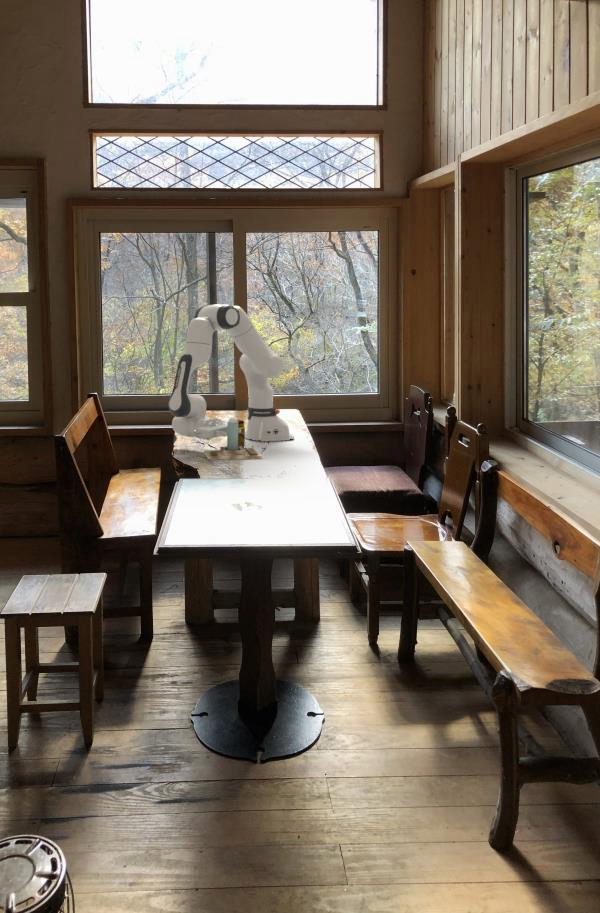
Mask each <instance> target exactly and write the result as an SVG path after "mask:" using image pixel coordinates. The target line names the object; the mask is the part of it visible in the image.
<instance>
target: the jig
mask: <svg viewBox="0 0 600 913" xmlns="http://www.w3.org/2000/svg"><path fill="white" fill-rule="evenodd" d="M219 448H220V449H217V450H216V449H211V450H205V449H204V450H203V454H205V455H206V456H205V455H204V456H205V457H207V458H208V459H225V460H252V459H251V458H262V459H263V455H262V454H261V453H260V452H259V451H258V450H257V449H255V448H253V447H252V448H251V447H250V448H249V447H245V448H246V449H243V448H242V447H238V450H227V446H220V447H219ZM207 458H206V459H207ZM208 459H207V460H208Z"/></svg>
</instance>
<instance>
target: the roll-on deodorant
mask: <svg viewBox="0 0 600 913" xmlns="http://www.w3.org/2000/svg"><path fill="white" fill-rule="evenodd" d="M237 420H238V418H236V417H230V418H229V419H228V421H226V422H227V433H228V436H226V440H227V441H226V443H227V445H226V447H227V450H238V421H237Z"/></svg>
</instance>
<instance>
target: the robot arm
mask: <svg viewBox="0 0 600 913" xmlns="http://www.w3.org/2000/svg"><path fill="white" fill-rule="evenodd" d="M224 330H227V331H228V333H229V335H230V337H231V339H232V340H233V342H234V344H235V346H236V348H237V349H238V351H240V352H241V353H242V354H241V356H240V358H239V361H238V362H239V363H238V364H239V367H240V369H241V371H242V372H243V374H244V376H245V380H246V384H247V390H248V406H247V409H246V412H247V415H246V418H247V424H246V428H245V440H250V439H252V441H258V440H261V441H260V442H264V441H265V442H279V441H281V440H282V441H291V440H290V439H293V440H294V439H295V436H294V435H293V434H292V433H290V428H289V425H288V424H287V423H286V422H285V421H284V420H283V419H282V418H281V417H279V416H278V415H279V414H280V409H278V408H276V407H275V406H274V390H273V388H272V387H271V384H270V382H269V379H274V378H278V377H280V376H281V375H282V374H283V372H284V369H285V362H284V360H283V359H282V357H281V356H279V355H278V354H276V352H274V351H273V350H272V348H270V346H269V345H268V344H267V343H266V342H265V341H264V339H263V338H262V337H261V335H260V334H259V332H258V330H257V329H256V327H255V325H254V324H253V322H252V320H251V318H250V317H249V314H247V313H246V311H245V310H244V309H243V308H242V307H241V306H239V305H231V304H228V303H224V304H223V303H215V304H209V305H208V304H207V305H203V306H200V307H199V308H198V309H196V311H195V314H194V316H193V319H191V321H190V322H189V325H188V328H187V332H186V336H185V337H186V339H185V345H184V346H185V347H184V351H183V353H182V356H180V358H179V361H178V364H177V367H176V373H175V378H174V382H173V388H172V391H171V394H170V396H169V398H168V403H167V406H168V410H169V412H170V414H171V415H172V416H173V419H172V421H171V427H172V429H173V431H174V432H175V433H176V434H178V435H179V436H184V437H187V438H197V439H200V440H206V441H208V440H212V439H214V438H218V437H219V438H220V437H222V438H223V437H225V438H227V436H228V433H227V422H228V421H226V420H225V421H224V420H222V419H220V418H209V417H206V412H207V409H208V408H207V407H208V406H207V401H206V399H205V397H204V396H202V395H199V394H192V393H191V394H190V393H189V387H190V382H191V377H192V374H193V372H194V371H195V369H196V368H199V367H201V366H203V365H205V364H207V362H209V360H210V359H211V355H212V352H213V351H212V350H213V349H212V348H213V346H212V345H213V335H214V333H215V331H217V332H218V331H224ZM205 417H206V418H205ZM238 433H241V429H239V428H238Z"/></svg>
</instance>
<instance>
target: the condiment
mask: <svg viewBox="0 0 600 913" xmlns="http://www.w3.org/2000/svg"><path fill="white" fill-rule="evenodd" d="M237 421H238V428H239V429H241V433H238V447H242V448H243V449H244V447H245V444H246V442H245V440H246V438H245V433H246V426H245V421H244V420H242V419H237ZM244 450H245V449H244Z"/></svg>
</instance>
